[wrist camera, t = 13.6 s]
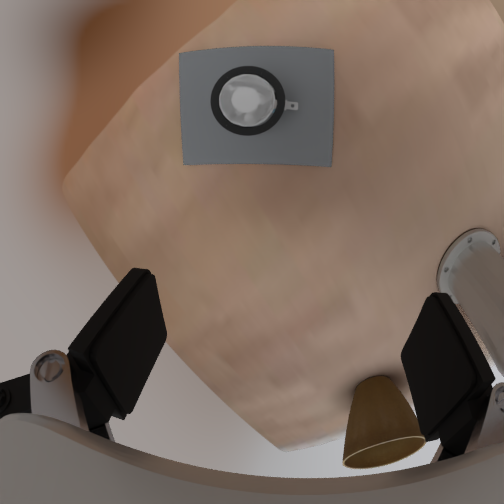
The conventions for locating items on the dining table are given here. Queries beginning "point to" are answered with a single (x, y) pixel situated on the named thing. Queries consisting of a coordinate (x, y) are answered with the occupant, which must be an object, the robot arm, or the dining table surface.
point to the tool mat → (289, 125)
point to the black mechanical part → (248, 100)
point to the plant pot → (380, 426)
